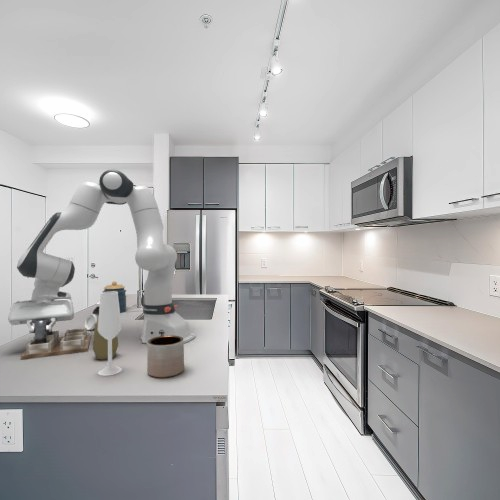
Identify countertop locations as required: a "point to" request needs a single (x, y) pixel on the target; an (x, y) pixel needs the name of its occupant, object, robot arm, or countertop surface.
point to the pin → (40, 331)
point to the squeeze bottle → (103, 345)
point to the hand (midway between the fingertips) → (40, 331)
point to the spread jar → (92, 318)
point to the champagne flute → (109, 326)
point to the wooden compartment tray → (59, 344)
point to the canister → (121, 294)
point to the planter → (165, 356)
